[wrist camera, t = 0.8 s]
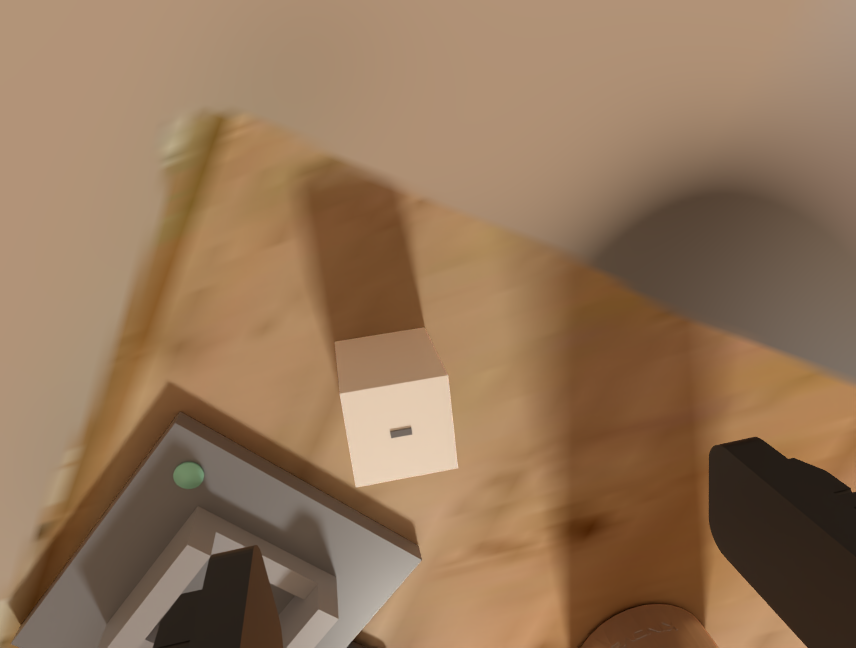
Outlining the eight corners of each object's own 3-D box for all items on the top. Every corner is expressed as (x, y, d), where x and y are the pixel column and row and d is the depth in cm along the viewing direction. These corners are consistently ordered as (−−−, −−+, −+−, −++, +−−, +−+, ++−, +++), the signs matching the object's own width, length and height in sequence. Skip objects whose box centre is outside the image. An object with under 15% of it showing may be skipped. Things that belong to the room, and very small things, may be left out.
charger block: (424, 327, 33) (448, 376, 27) (433, 407, 35) (458, 469, 29) (334, 341, 32) (339, 394, 27) (348, 422, 34) (356, 488, 28)
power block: (465, 572, 38) (483, 627, 34) (312, 745, 41) (312, 814, 37) (179, 411, 32) (161, 455, 28) (20, 626, 35) (-17, 694, 31)
